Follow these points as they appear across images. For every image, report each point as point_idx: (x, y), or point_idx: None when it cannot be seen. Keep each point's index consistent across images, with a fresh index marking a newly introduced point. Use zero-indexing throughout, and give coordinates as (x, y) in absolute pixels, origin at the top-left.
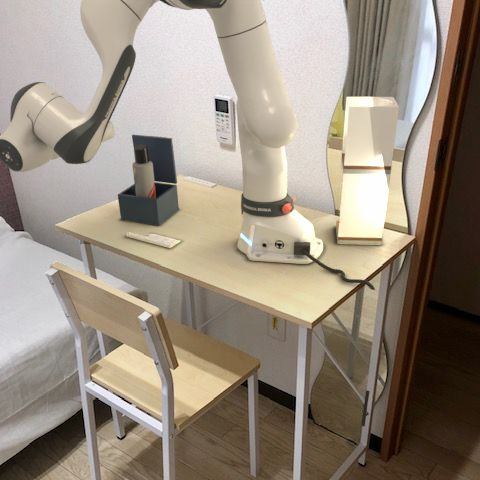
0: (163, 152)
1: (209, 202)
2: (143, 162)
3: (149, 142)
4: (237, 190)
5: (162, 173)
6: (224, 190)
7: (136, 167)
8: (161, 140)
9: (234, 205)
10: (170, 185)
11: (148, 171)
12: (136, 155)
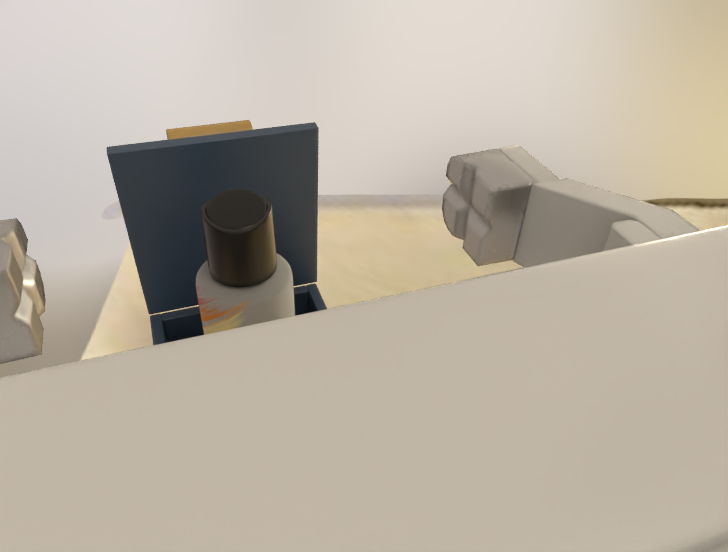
0: (276, 188)
1: (354, 279)
2: (270, 273)
3: (208, 164)
4: (355, 208)
5: None
6: (326, 220)
7: (248, 309)
8: (271, 142)
9: (428, 263)
10: (297, 294)
11: (292, 301)
12: (237, 256)
